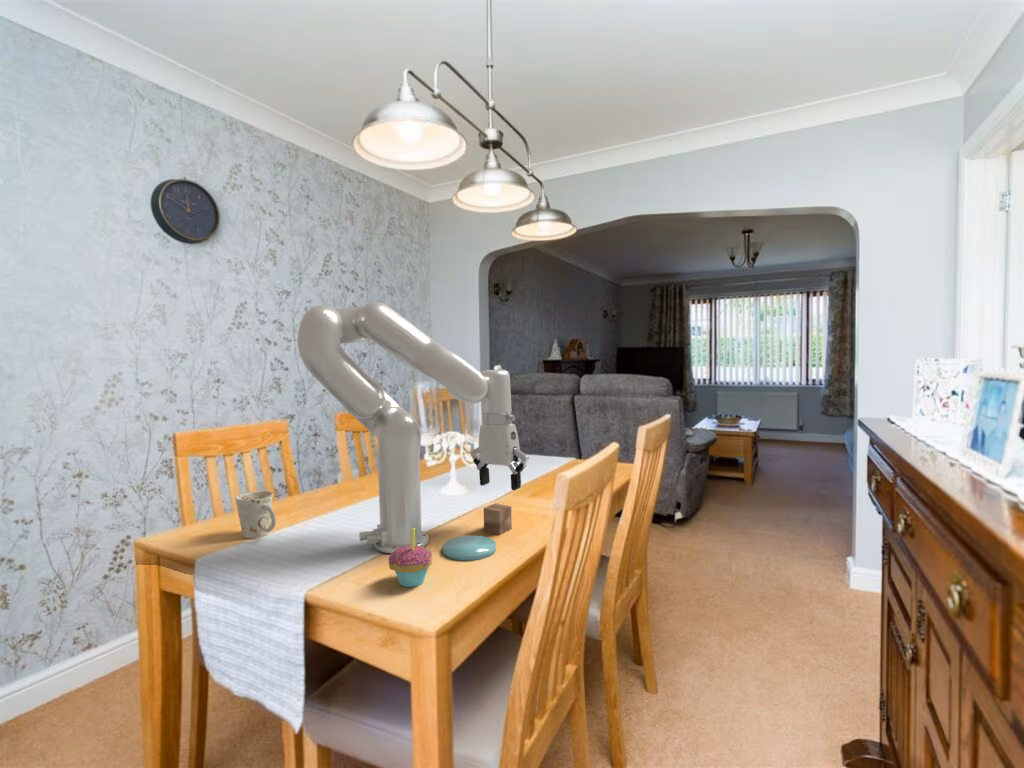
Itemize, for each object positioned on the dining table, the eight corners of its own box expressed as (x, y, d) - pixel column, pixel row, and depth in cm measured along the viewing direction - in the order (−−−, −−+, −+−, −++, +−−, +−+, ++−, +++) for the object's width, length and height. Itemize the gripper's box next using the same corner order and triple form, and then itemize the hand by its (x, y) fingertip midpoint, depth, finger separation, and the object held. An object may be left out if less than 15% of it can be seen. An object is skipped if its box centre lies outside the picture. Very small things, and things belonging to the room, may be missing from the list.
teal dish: (453, 564, 109) (452, 559, 108) (436, 545, 119) (436, 540, 119) (504, 554, 114) (504, 549, 114) (484, 537, 125) (483, 532, 124)
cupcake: (440, 583, 100) (439, 523, 99) (399, 596, 95) (397, 532, 94) (421, 569, 107) (419, 512, 106) (382, 580, 102) (380, 520, 101)
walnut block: (500, 535, 126) (499, 511, 126) (484, 531, 129) (483, 508, 128) (511, 529, 130) (511, 506, 130) (495, 525, 133) (495, 503, 132)
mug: (261, 526, 135) (259, 489, 134) (292, 534, 128) (290, 495, 128) (230, 536, 128) (228, 497, 127) (261, 545, 121) (259, 504, 121)
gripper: (534, 418, 126) (537, 486, 127) (479, 415, 136) (482, 479, 137) (517, 423, 120) (520, 494, 121) (460, 419, 130) (464, 486, 131)
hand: (500, 486), depth 129 cm, fingers open, 9 cm apart
